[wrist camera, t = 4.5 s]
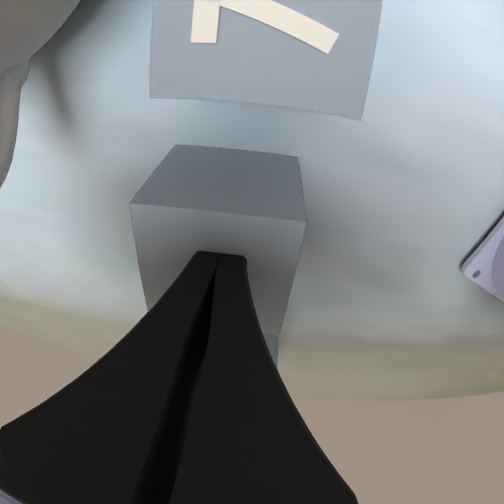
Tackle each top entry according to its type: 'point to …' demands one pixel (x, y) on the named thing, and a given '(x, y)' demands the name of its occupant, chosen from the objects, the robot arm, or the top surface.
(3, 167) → the teacup
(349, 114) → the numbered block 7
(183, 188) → the plain block
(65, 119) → the top surface
